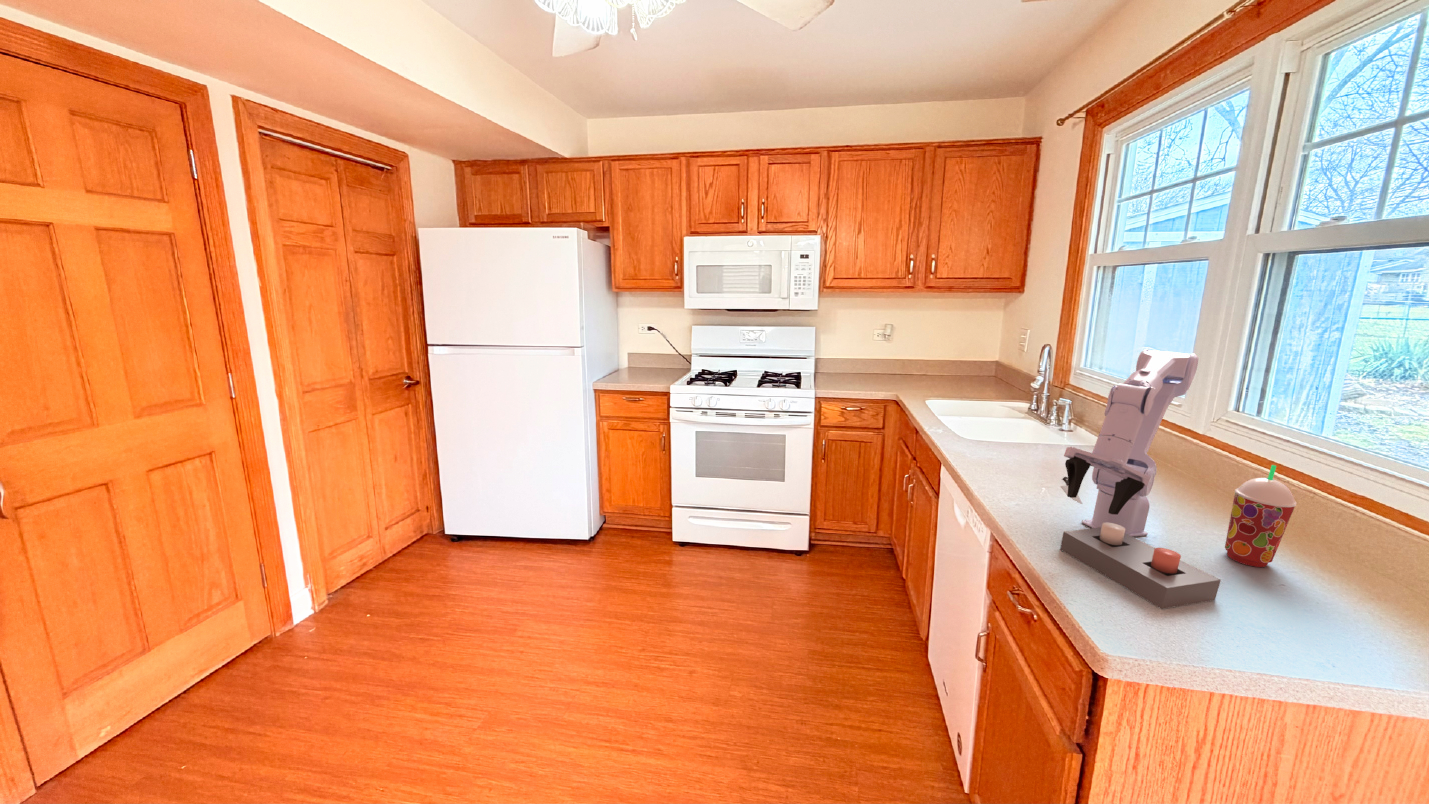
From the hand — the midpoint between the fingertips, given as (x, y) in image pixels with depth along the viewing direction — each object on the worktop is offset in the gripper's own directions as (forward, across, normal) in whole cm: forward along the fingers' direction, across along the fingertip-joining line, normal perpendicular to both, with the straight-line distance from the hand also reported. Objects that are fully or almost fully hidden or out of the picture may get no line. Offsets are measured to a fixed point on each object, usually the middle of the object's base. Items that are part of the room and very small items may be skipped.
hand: (1091, 505), depth 102 cm
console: (+9, +10, 0) cm, 14 cm away
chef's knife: (-8, +11, +38) cm, 41 cm away
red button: (+7, +12, -5) cm, 14 cm away
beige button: (+5, +6, +3) cm, 8 cm away
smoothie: (-3, +33, +10) cm, 35 cm away
